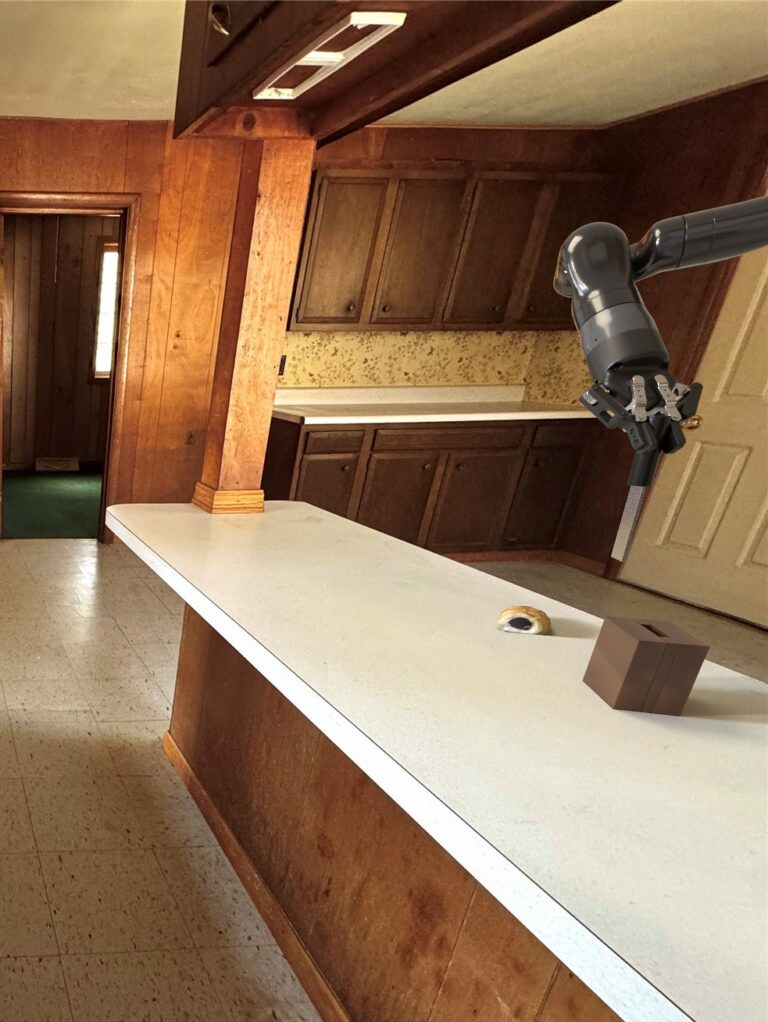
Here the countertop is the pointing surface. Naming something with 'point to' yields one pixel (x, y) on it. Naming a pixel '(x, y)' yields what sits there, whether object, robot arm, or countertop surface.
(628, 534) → the knife
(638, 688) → the knife block
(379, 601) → the countertop surface
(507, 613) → the pastry
